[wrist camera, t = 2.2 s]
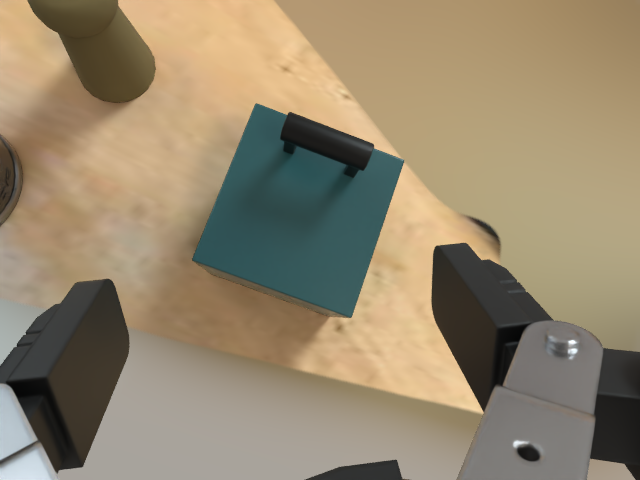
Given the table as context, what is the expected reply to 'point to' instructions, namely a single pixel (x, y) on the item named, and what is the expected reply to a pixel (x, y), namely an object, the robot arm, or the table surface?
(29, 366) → the robot arm
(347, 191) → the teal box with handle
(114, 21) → the olive pepper mill
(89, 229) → the table surface
